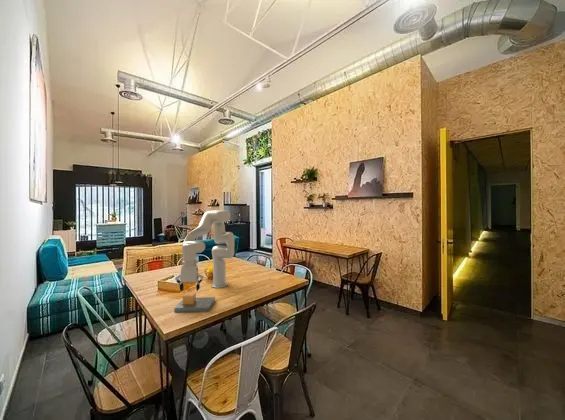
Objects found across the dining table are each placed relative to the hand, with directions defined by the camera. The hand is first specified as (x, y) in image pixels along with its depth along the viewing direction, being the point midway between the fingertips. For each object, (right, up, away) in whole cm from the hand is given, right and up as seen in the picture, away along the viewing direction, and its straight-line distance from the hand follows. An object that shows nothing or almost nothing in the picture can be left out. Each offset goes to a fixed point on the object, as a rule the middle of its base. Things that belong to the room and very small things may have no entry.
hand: (189, 290), depth 149 cm
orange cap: (0, -8, 0) cm, 7 cm away
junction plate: (+4, -10, 0) cm, 11 cm away
